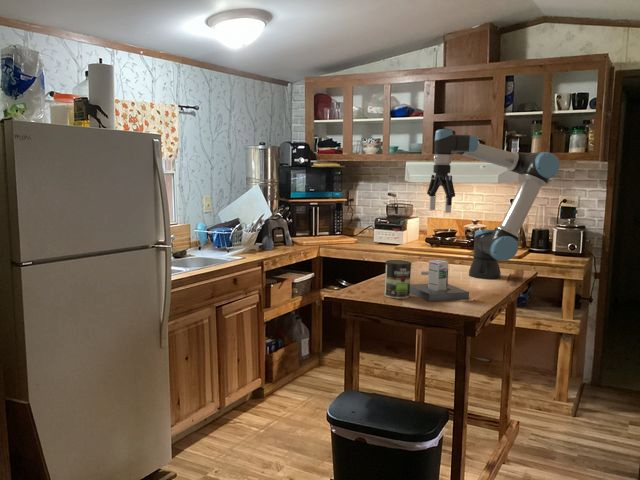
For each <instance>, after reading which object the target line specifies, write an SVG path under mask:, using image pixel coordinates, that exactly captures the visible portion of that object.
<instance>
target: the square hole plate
mask: <svg viewBox="0 0 640 480" xmlns="http://www.w3.org/2000/svg"><path fill="white" fill-rule="evenodd" d="M410 294H412V295H414V296H416V297H419V298H421V299H423V300H425V301H427V302H429V303H430V302H432V301H433V302H444V301H445V302H446V301H447V302H449V301H462V300H463V301H464V300H469V299H470V291H468V290H466V289H463V288H460V287H458V286H454V285H452V284H449V283H448V288H447V290H441V291H433V290H431V289H429V288H428V283H415V284H410ZM433 302H432V303H433Z"/></svg>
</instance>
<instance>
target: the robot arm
mask: <svg viewBox="0 0 640 480" xmlns="http://www.w3.org/2000/svg"><path fill="white" fill-rule="evenodd" d="M433 152H434V154H433V155H434V156H433V163H434V164H433V170H432V171H433V173H434V174H431V176H430V182H429V185H428V189H427V192H426V194H427V195H428V196H429V208H428V210H429V211H436V202H437V201H436V199H437V195H436V194H437V192H438V190H439V188H440V186H442V188H443V191H444V193H445V198H444V200H445V201H444V213H445V214H448V213H450V214H451V213H452V205H453V204H452V202H453V201H452V200H453V198H454V197H456V193H455V192H456V191H455V186H454V183H453V176H452V175H450V173H451V167H452V166H451V163H452V154H456V155H460V156H463V157H468V158H471V159H474V160H478V161H481V162H484V163H489V164H492V165H496V166H499V167H503V168H506V170H508V171H510V172H512V173H516V174H518V175H522V178H523V180H522V182H521V184H520V186H519V188H518V190H517V192H516V194H515V196H514V198H513V200H512V201H511V203H510V205H509V207H508V209H507V212H506V213H505V216H504V217H503V219H502V221H501V224H500V225H497V226H496V227H494V229H478V230H476V231H475V233H474V236H473V237H474V239H473V241H474V242H473V244H474V245H473V259H472V263H471V264H470V266H469V267H470V268H469V269H468V275H469V276H470V277H473V278H477V279H487V280H490V279H496V280H497V279H500V278H501V277H502V276H501V275H502V271H501V269H500V264H499V261H503V262H506V261H509V260H511V259H513V258H514V257H515V256H516V255H517V253H518V252H519V251H518V250H519V245H518V241H519V239H520V236H519V231H520V230H521V227H522V225H523V224H524V222H525V220H526V218H527V216H528V214H529V212H530V210H531V208H532V206H533V204H534V202H535V200H536V198H537V196H538V194H539V193H540V191H541V189H542V188H543V187H545V186H547V184H548V183H549V180H551V179H552V178H554V177H555V176H556V175H558V173H559V171H560V161H559V158H558V157H557V156H556V155H555V154H553V153H552V152H548V151H541V152H520V151H513V152H510V151H508V150H504V149H500V148H497V147H494V146H490V145H487V144H483V143H480V142H479V137H478V136H477V135H475V134H474V135H473V134H454V133H453V130H452V129H447V128H445V129H440V128H439V129H437V130H436V131H435V135H434V151H433Z"/></svg>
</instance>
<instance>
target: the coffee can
mask: <svg viewBox="0 0 640 480" xmlns="http://www.w3.org/2000/svg"><path fill="white" fill-rule="evenodd" d="M411 269H412V262H411V261H409V260H402V259H401V260H400V259H390V260H386V261H385V275H384V276H385V278H384V279H385V281H384V296H385V297H386V298H388V299H389V298H390V299H398V300H401V299H402V300H403V299H404V300H405V299H408V298H409V299H410V294H411V293H410V285H411Z"/></svg>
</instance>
